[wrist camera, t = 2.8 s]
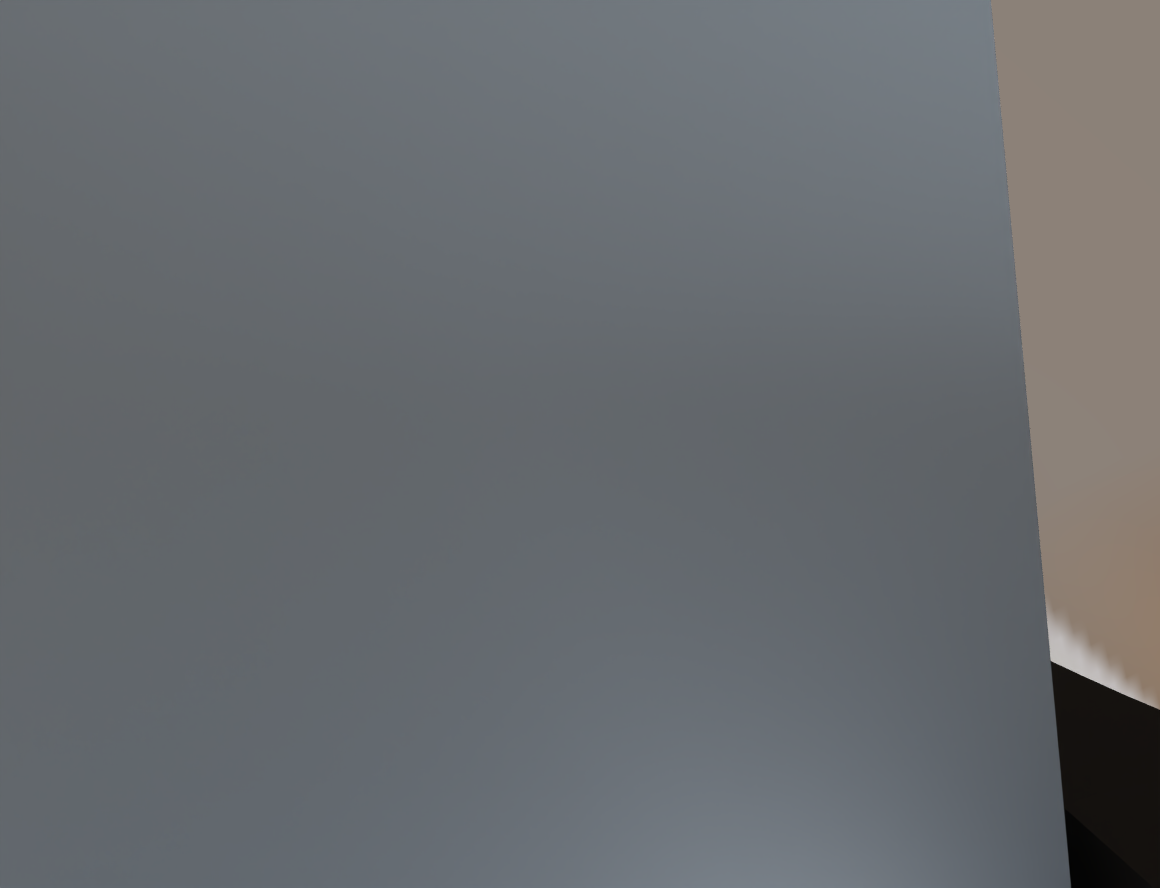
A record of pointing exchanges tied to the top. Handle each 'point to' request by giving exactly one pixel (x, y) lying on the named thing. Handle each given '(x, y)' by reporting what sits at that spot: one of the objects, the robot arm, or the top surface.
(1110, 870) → the robot arm
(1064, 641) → the top surface
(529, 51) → the pale blue rectangular block
